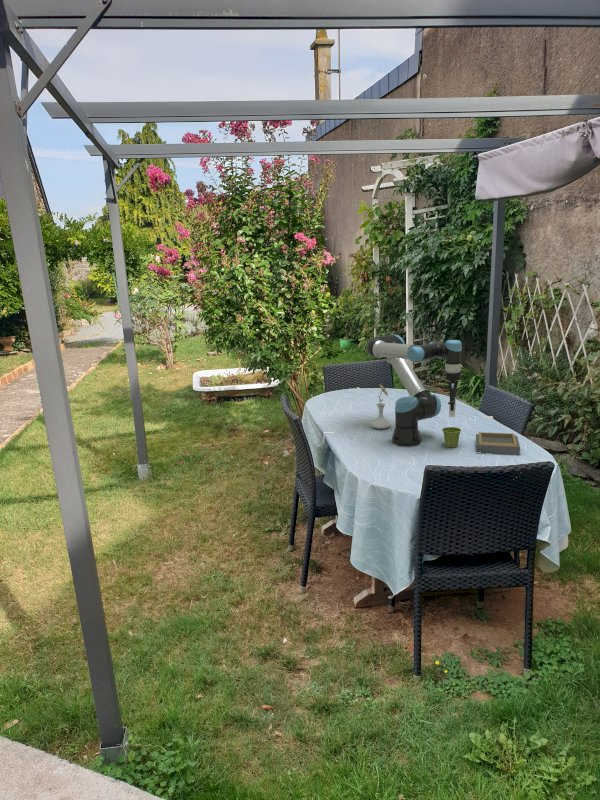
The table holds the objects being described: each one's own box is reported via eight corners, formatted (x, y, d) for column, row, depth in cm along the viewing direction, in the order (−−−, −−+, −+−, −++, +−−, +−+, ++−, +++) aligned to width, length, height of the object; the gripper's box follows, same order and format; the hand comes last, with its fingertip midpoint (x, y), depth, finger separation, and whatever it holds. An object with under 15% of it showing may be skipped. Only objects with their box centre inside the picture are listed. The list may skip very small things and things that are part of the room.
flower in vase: (390, 430, 320) (390, 387, 314) (370, 430, 322) (369, 387, 316) (391, 424, 332) (391, 382, 326) (372, 423, 335) (371, 382, 328)
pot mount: (476, 452, 279) (476, 442, 278) (475, 441, 296) (476, 431, 295) (519, 455, 274) (520, 444, 272) (516, 443, 290) (517, 433, 289)
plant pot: (447, 449, 285) (448, 433, 283) (438, 444, 294) (438, 428, 292) (464, 447, 288) (464, 431, 286) (454, 442, 296) (455, 426, 294)
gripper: (460, 376, 269) (459, 420, 274) (461, 366, 292) (460, 406, 297) (444, 376, 271) (443, 419, 276) (446, 366, 294) (445, 406, 299)
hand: (452, 413), depth 287 cm, fingers open, 13 cm apart
